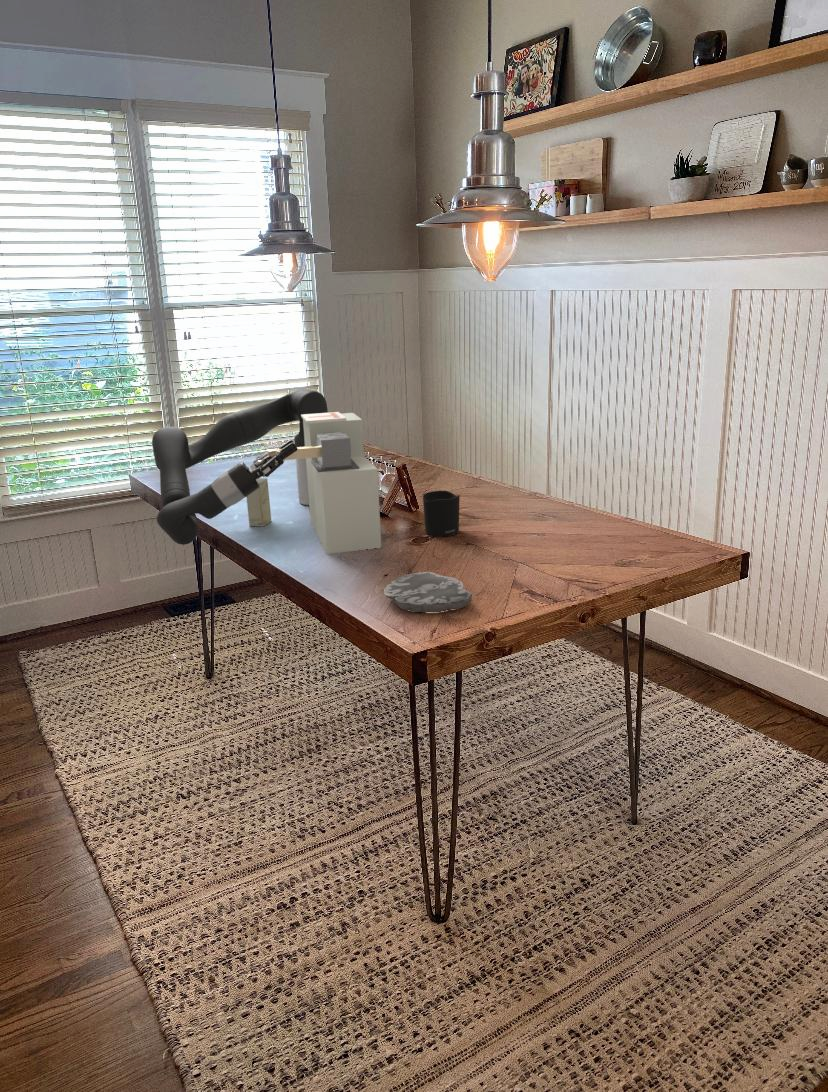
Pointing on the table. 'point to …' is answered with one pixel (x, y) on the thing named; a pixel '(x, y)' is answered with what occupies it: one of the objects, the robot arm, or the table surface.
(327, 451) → the mallet
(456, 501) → the pen holder
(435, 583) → the brain slice
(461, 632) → the table surface
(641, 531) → the table surface
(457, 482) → the table surface
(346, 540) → the stepped stand
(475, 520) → the table surface
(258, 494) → the skincare box
